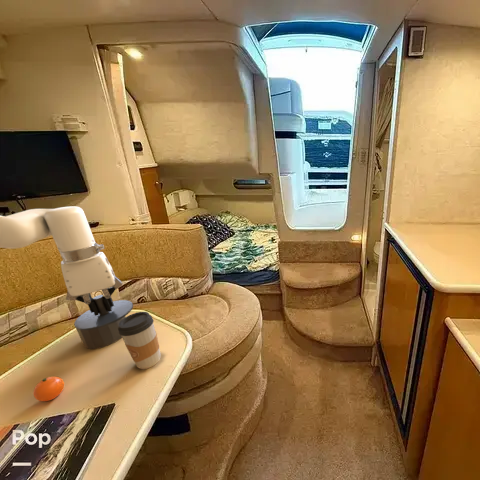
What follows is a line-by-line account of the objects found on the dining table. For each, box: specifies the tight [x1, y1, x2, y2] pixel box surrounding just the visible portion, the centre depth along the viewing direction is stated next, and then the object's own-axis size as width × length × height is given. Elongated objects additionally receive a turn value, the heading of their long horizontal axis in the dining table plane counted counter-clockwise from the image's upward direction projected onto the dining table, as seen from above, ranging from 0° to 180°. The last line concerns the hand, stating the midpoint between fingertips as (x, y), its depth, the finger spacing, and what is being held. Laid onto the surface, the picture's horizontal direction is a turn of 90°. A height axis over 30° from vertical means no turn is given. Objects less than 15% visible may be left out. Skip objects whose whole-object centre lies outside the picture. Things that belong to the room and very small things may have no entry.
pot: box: [76, 316, 126, 350], centre depth 91 cm, size 13×13×8 cm
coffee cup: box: [118, 311, 162, 370], centre depth 77 cm, size 8×8×15 cm
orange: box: [33, 376, 65, 402], centre depth 69 cm, size 6×6×6 cm
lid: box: [73, 294, 134, 330], centre depth 77 cm, size 14×14×7 cm
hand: (103, 310), depth 78 cm, fingers closed on lid, 2 cm apart
